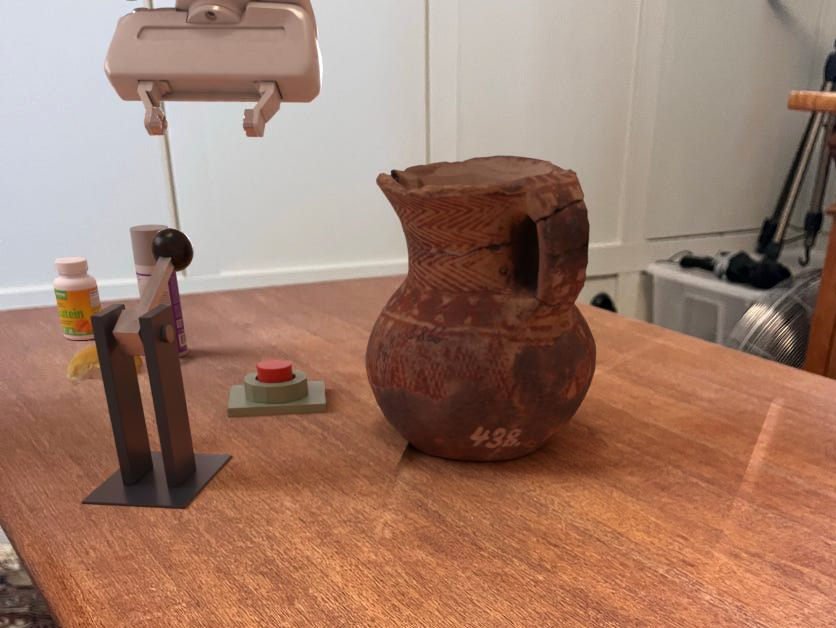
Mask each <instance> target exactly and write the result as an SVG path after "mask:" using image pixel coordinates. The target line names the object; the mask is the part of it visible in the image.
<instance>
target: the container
mask: <svg viewBox="0 0 836 628" xmlns="http://www.w3.org/2000/svg"><path fill="white" fill-rule="evenodd" d="M165 228H169V226H168V225H166V224H165V225H164V224H141V225H135V226H131V227H129V234H130V240H131V247H132V255H133V263H134V269H135V276H136V281H137V286H138V294H139V299H140V298H141V296H142V294H143V292H144V290H145V287H146V285H147V283H148V281H149V279H150V277H151V274H152V272H153V270H154V268H155V266H156V262H155V260H154V259H153V256H152V253H151V242H152V239H153V237H154V236H155V234H156V233H157V232H159V231H160V230H162V229H165ZM159 305H171V308H172V314H173V321H174V327H175V333H176V340H177V346H178V353H179V358H183V357H185V356H187V355H188V353H189V351H188V350H189V349H188V344H187V343H188V342H187V337H186V328H185V324H184V323H185V322H184V315H183V310H182V302H181V296H180V290H179V282H178V275H177V272H172V274H171V276H170V279H169V281H168V283H167V285H166V288H165V290H164V292H163V294H162V297H161V299H160V301H159V304H158V306H159Z"/></svg>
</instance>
